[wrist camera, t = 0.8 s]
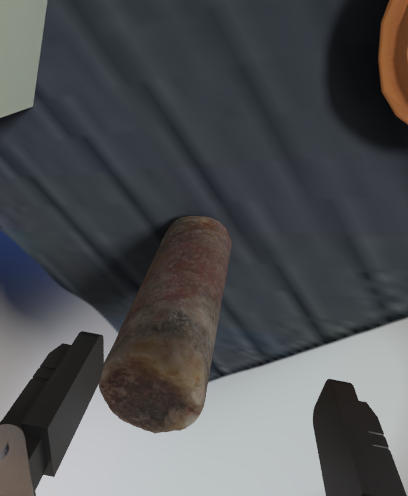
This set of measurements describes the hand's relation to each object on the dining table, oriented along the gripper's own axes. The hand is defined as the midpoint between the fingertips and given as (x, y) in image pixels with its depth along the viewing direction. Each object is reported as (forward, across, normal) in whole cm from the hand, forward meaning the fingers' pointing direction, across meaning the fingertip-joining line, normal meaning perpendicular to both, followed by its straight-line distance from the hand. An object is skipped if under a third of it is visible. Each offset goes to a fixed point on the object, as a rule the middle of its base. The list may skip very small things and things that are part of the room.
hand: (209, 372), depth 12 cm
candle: (+26, +3, +8) cm, 27 cm away
